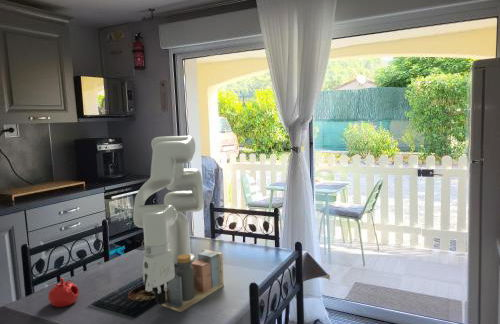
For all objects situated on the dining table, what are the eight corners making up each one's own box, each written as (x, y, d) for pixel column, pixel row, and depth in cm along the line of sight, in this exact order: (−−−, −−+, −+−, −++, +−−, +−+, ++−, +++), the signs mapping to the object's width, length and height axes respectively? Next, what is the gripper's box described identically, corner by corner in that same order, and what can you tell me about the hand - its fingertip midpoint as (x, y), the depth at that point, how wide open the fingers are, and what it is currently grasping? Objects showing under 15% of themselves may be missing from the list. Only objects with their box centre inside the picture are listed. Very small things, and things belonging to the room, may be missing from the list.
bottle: (197, 294, 136) (195, 254, 135) (189, 302, 131) (187, 260, 129) (183, 292, 138) (180, 252, 137) (174, 300, 133) (172, 258, 131)
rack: (161, 305, 131) (159, 269, 129) (205, 280, 150) (204, 249, 148) (180, 312, 126) (178, 275, 124) (223, 285, 145) (222, 253, 143)
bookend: (164, 303, 130) (162, 275, 129) (169, 300, 132) (167, 272, 131) (177, 308, 126) (175, 279, 125) (182, 305, 128) (181, 276, 127)
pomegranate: (51, 313, 128) (48, 287, 127) (46, 302, 137) (43, 278, 135) (82, 304, 134) (79, 279, 133) (76, 293, 142) (73, 270, 141)
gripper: (146, 258, 114) (150, 316, 116) (181, 243, 126) (185, 296, 128) (130, 253, 118) (134, 309, 120) (166, 240, 130) (169, 291, 133)
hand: (160, 302), depth 124 cm, fingers closed
